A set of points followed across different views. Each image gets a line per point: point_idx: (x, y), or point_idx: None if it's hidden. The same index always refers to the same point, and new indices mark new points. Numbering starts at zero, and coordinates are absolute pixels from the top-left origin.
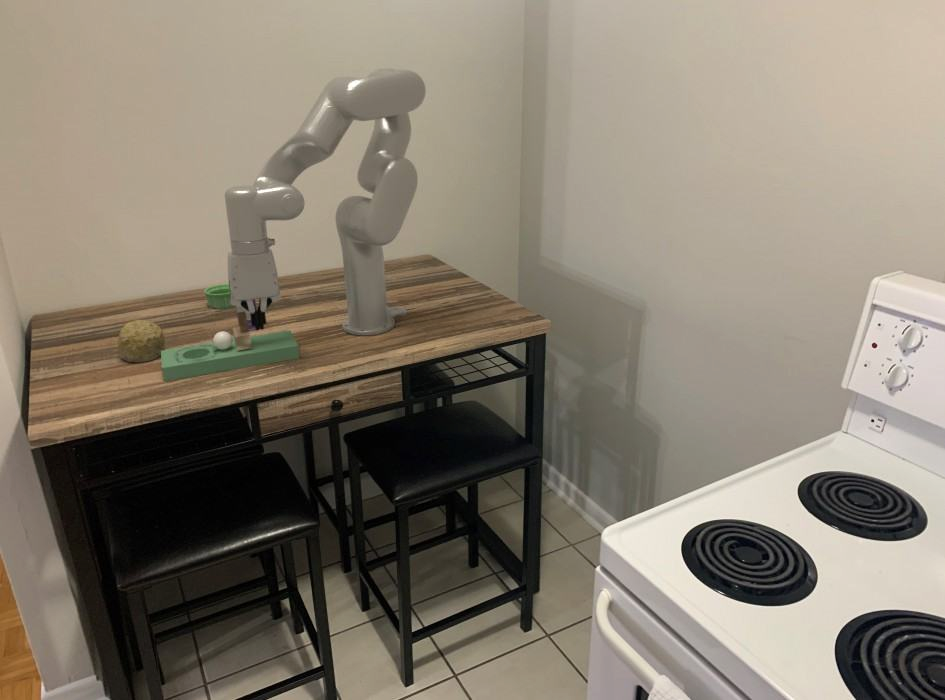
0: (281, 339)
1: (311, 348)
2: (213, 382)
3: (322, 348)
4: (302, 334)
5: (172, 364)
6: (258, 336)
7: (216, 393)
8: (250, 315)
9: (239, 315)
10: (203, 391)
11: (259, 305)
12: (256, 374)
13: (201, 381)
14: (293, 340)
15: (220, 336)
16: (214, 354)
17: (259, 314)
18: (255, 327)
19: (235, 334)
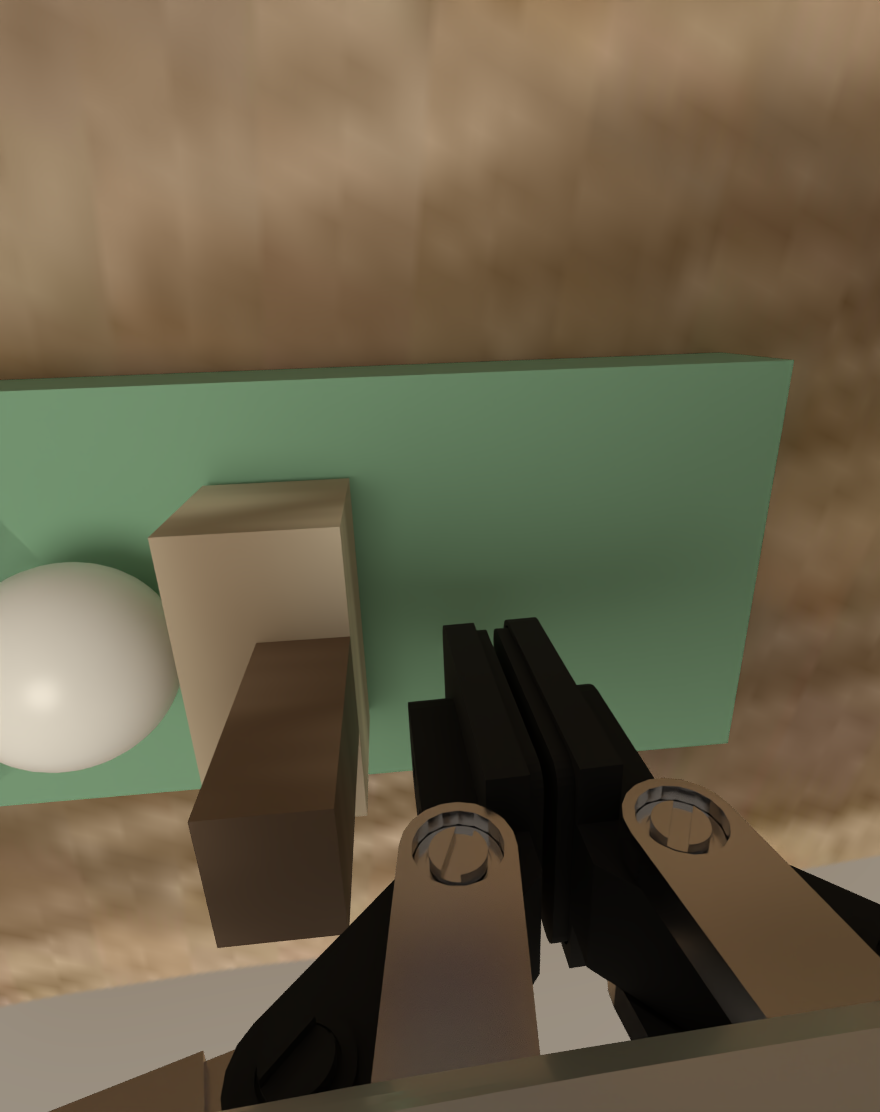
0: (646, 574)
1: (806, 546)
2: (108, 852)
3: (871, 574)
4: (869, 177)
5: None
6: (455, 410)
7: (148, 969)
8: (418, 790)
9: (235, 944)
10: (66, 936)
11: (641, 896)
12: (375, 822)
13: (22, 821)
14: (730, 633)
15: (28, 770)
16: None
17: (556, 933)
18: (446, 696)
19: (206, 764)
